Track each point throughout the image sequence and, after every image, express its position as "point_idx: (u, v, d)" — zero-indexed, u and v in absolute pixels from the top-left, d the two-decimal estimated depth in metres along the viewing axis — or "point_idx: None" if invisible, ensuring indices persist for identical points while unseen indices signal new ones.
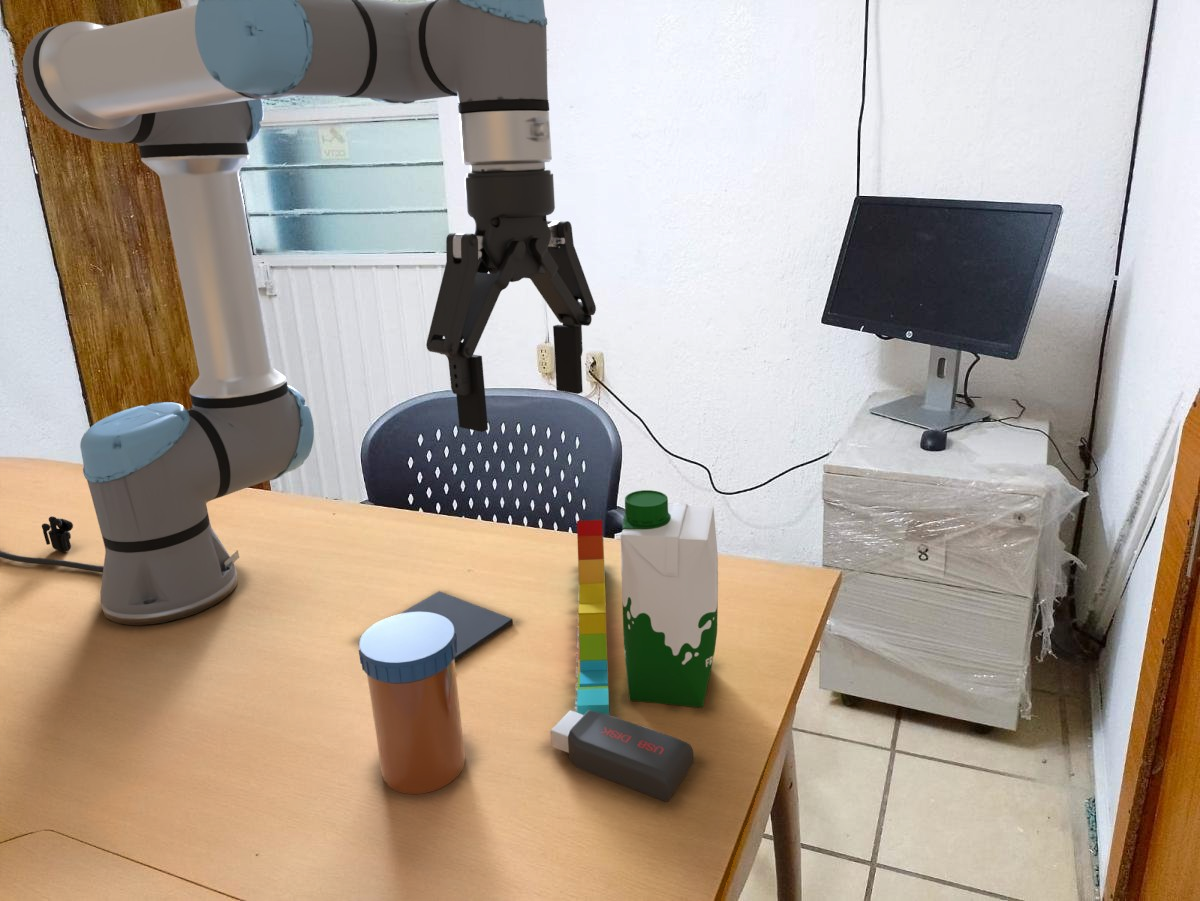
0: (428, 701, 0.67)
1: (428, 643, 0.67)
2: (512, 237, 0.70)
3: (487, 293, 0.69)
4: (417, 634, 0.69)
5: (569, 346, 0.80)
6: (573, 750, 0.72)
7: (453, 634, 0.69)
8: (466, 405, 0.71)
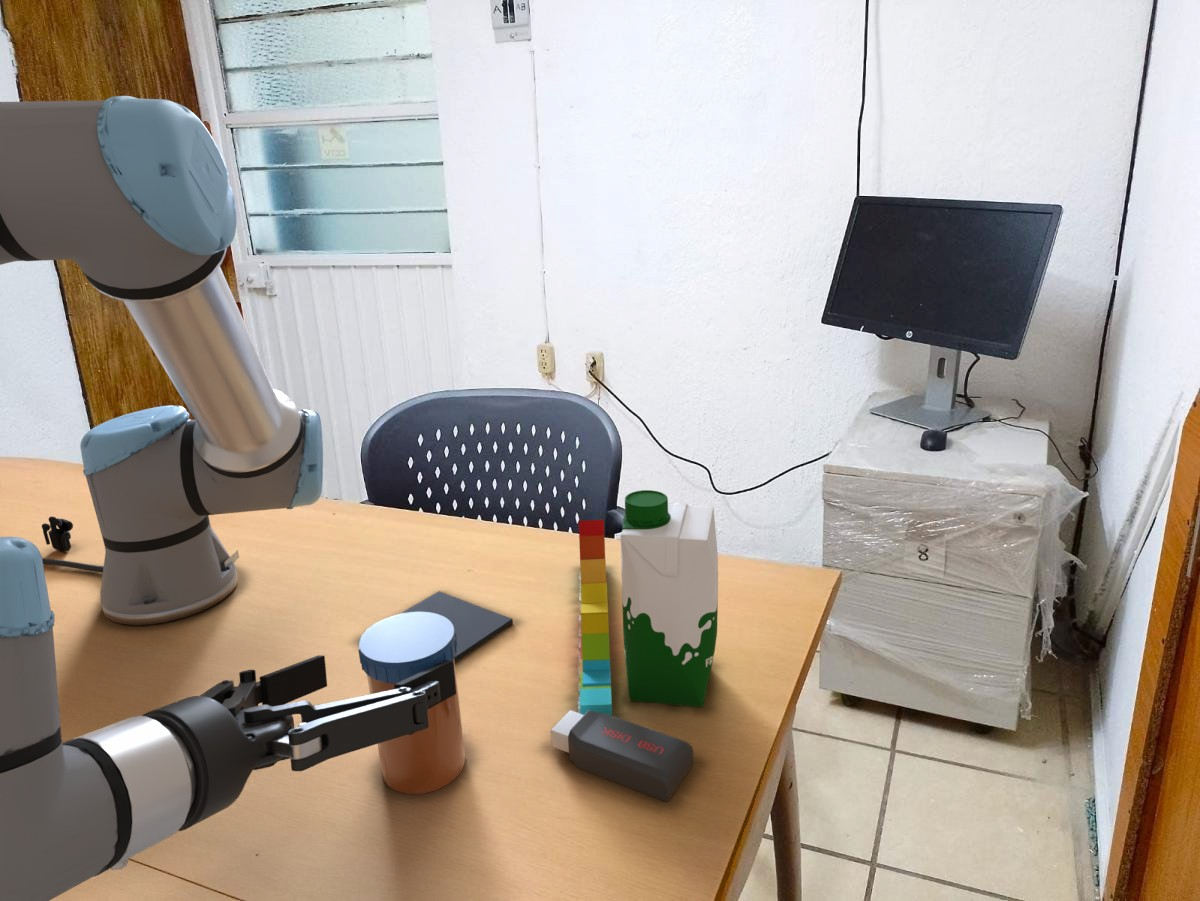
0: None
1: (427, 644, 0.67)
2: None
3: None
4: (417, 634, 0.69)
5: None
6: (573, 750, 0.72)
7: (453, 634, 0.69)
8: None
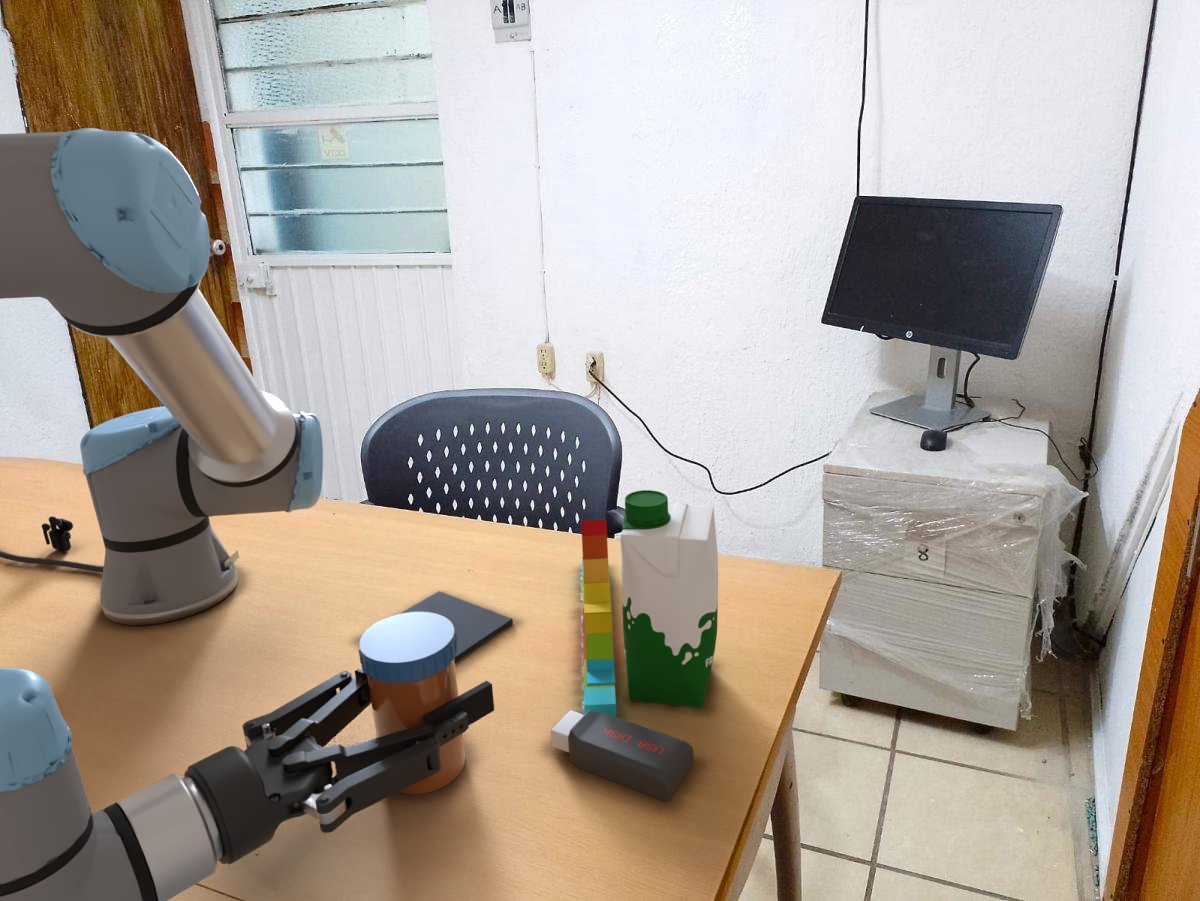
0: (428, 701, 0.67)
1: (428, 644, 0.67)
2: None
3: None
4: (417, 634, 0.69)
5: None
6: (573, 750, 0.72)
7: (453, 634, 0.69)
8: None
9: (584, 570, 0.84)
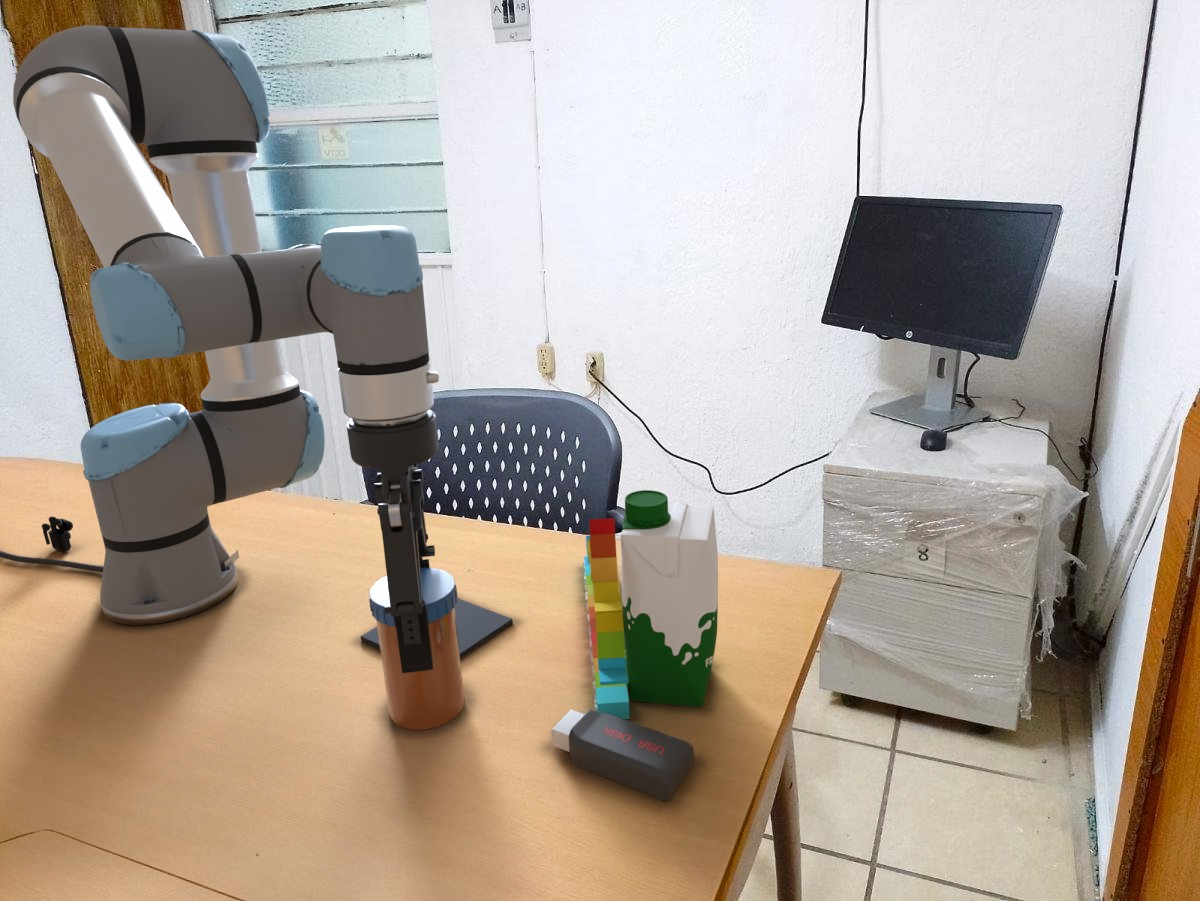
0: (431, 644, 0.75)
1: (431, 593, 0.75)
2: (410, 477, 0.72)
3: (415, 543, 0.71)
4: None
5: None
6: (574, 749, 0.72)
7: (453, 585, 0.76)
8: (412, 651, 0.73)
9: (593, 569, 0.84)
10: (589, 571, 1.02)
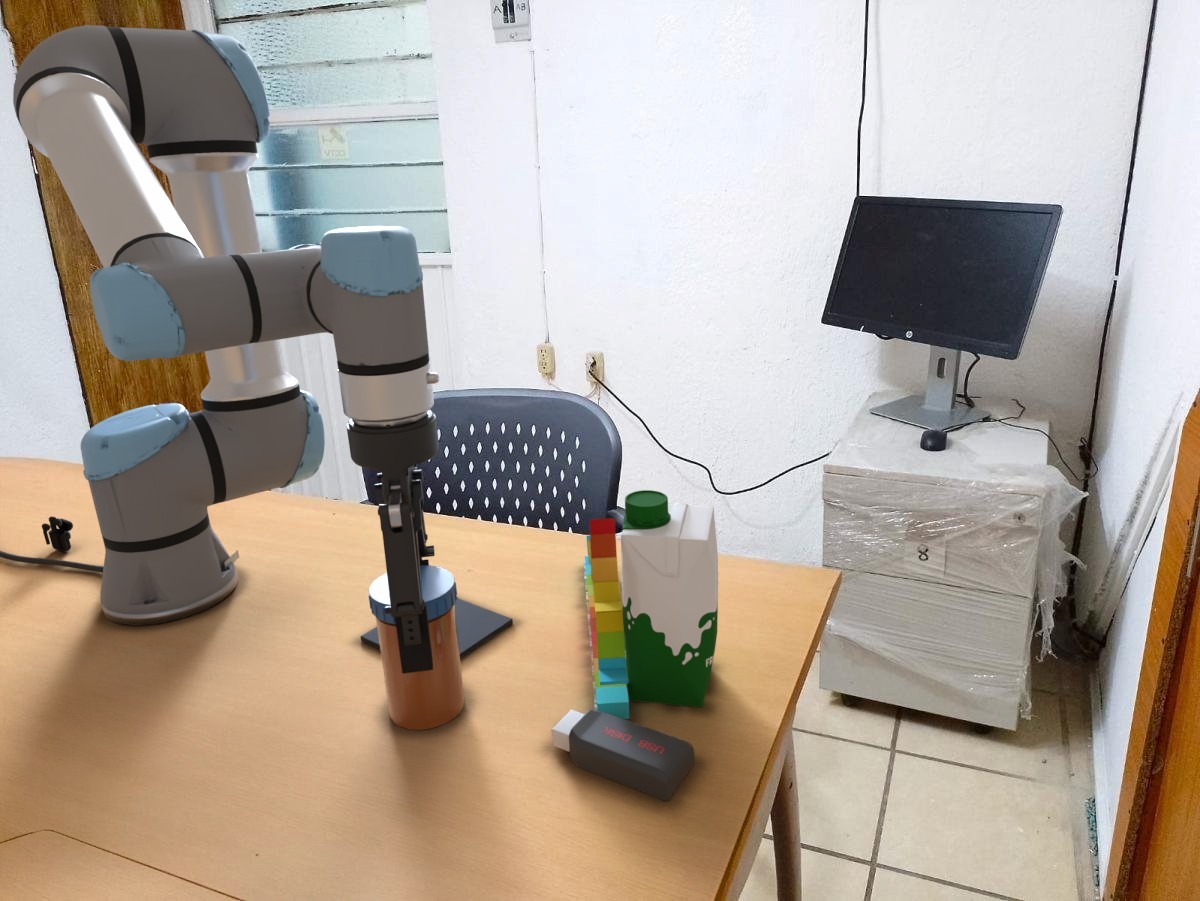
0: (431, 644, 0.75)
1: (431, 573, 0.78)
2: (410, 478, 0.72)
3: (415, 544, 0.71)
4: None
5: None
6: (574, 749, 0.72)
7: (420, 565, 0.80)
8: (412, 651, 0.73)
9: (593, 569, 0.84)
10: (590, 571, 1.02)
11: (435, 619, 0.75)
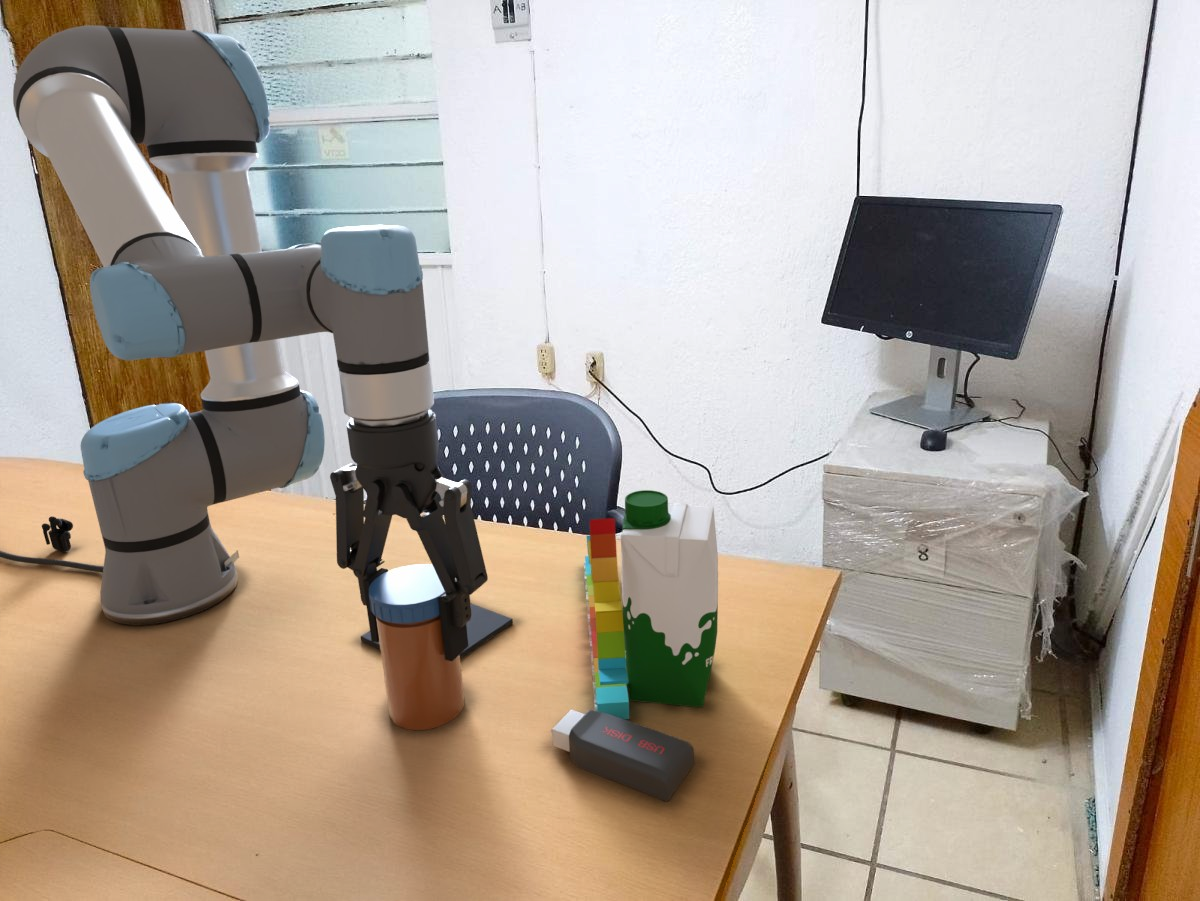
0: (431, 645, 0.75)
1: (407, 572, 0.78)
2: None
3: (446, 528, 0.74)
4: (404, 581, 0.77)
5: None
6: (574, 749, 0.72)
7: (383, 573, 0.78)
8: (456, 634, 0.76)
9: (593, 569, 0.84)
10: (590, 570, 1.02)
11: (435, 620, 0.75)
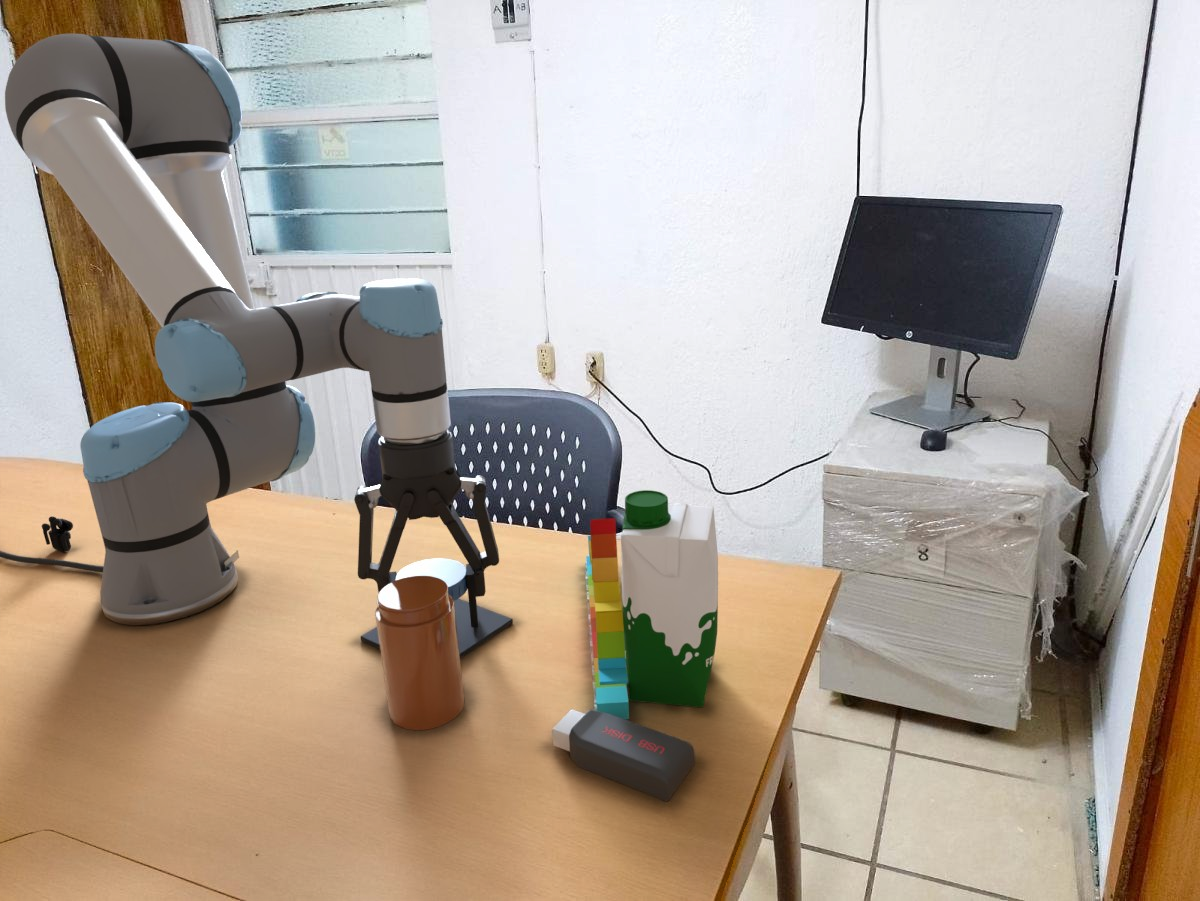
0: (431, 645, 0.75)
1: (415, 568, 0.92)
2: None
3: (460, 519, 0.91)
4: (423, 575, 0.91)
5: None
6: (574, 749, 0.72)
7: (396, 575, 0.91)
8: (476, 604, 0.93)
9: (593, 569, 0.84)
10: (591, 571, 1.02)
11: (435, 620, 0.75)
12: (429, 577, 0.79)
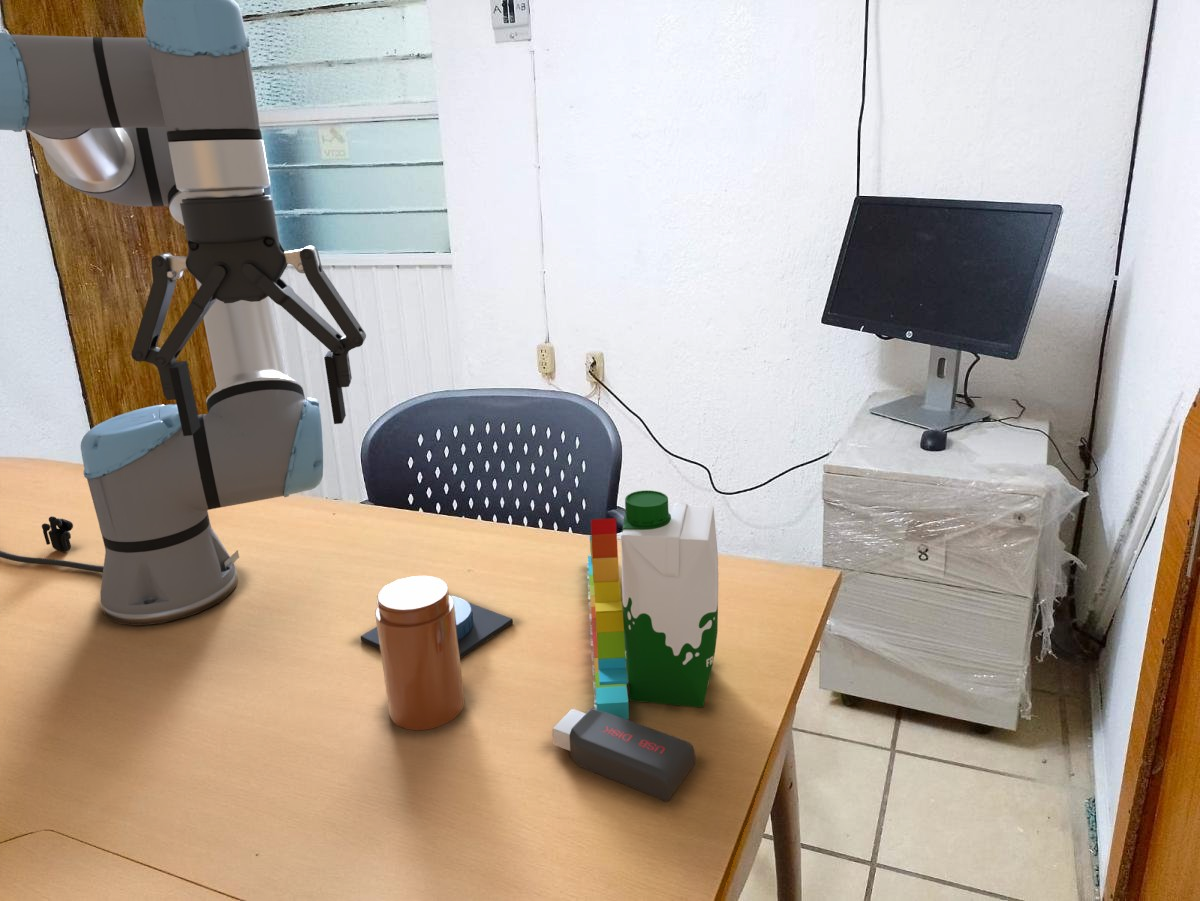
0: (431, 645, 0.75)
1: None
2: None
3: None
4: None
5: (188, 382, 0.77)
6: (574, 748, 0.72)
7: None
8: (340, 398, 0.79)
9: (594, 569, 0.84)
10: (592, 570, 1.02)
11: (435, 620, 0.75)
12: (429, 577, 0.79)
